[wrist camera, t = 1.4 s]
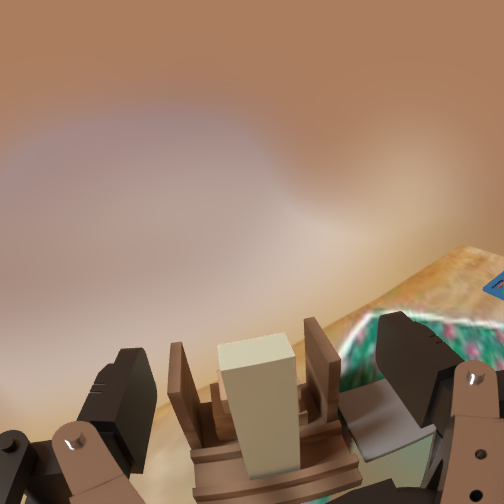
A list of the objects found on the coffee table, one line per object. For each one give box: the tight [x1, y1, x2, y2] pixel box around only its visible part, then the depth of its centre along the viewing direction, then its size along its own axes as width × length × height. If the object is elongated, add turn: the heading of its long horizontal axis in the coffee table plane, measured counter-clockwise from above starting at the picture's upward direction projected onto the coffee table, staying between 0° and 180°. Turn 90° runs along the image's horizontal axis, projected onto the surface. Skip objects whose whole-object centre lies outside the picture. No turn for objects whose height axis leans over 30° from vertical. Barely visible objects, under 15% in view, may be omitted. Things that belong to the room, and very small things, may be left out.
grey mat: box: [338, 378, 436, 463], centre depth 33 cm, size 11×11×1 cm
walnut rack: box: [167, 317, 363, 504], centre depth 29 cm, size 16×16×12 cm
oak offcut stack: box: [210, 370, 308, 442], centre depth 33 cm, size 10×6×7 cm, turn 99°
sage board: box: [217, 332, 300, 481], centre depth 25 cm, size 5×3×16 cm, turn 99°
